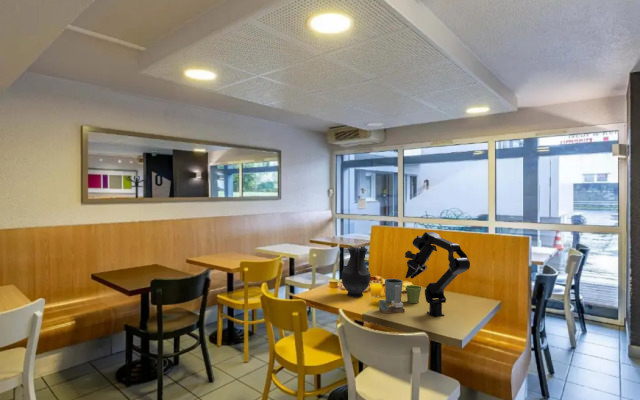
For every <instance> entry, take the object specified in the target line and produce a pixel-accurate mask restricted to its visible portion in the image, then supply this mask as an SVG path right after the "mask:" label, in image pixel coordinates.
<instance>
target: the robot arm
mask: <svg viewBox="0 0 640 400" xmlns="http://www.w3.org/2000/svg"><path fill="white" fill-rule="evenodd" d="M412 245H413V246H414V247H415V248H416V249H417V250H418V251H419V252H416V253H413V252H412V251H411V250H407V251H405V253H404V258H406V259H408V260H407V261H406V266H407V271H406V274H405V276H404V277H405V279H409V278H410V279H411V280H413V279H414V278H416V277H418V276H419V275H421V274H422V273H424V272H425V271H426V270H427V269H428V267H427V264H426V263H427V261H429V259H430V257H431V255H432V254H433V252H434V251H435V252H438V249H437V246H438V248H442V249H443V250H446V251H447V252H448V256H447V257H448V258H447V260H448V262H449V263H448V269H447V270H446V271H445V272H444V273H443V274H442V275H441V276H440V278H439V279H438V280H437V281H436V282H429V283H428V284H427V286H425V290H424V297H425V302H427V304H429V305H428V306H429V308H428V309H429V311H426V314H428V315H430V316H432V317H442V316H445V314H444V313H443V304H446V301H447V298H446V296H445V289H446V288H447V287H448V286H449V285H450V283H451V282H453V280H454V279H456V277H457V276H458V275H460V274H463V273H465V272H467V271H468V270H470V267H471V262H470V260H469V258H468V255H467V253H465V251H464V250H462V248H461V246H460V244H458V243H455V242H452V241H450V240H447V239H445V238H443V237H441V236H440V234H438V233H437V232H434V231H433V232H432V231H431V232H430V231H429V232H423V234H422V235H417V236H416V237H415V238H414V239H413V240H412ZM454 253H455V254H456V255H457V256H458V257H454V256H455V255H454Z"/></svg>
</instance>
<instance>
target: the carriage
mask: <svg viewBox="0 0 640 400" xmlns="http://www.w3.org/2000/svg"><path fill="white" fill-rule="evenodd" d="M400 290H401V286H399V285H395V301H392V303H391V305H392V306H394V307H403V308H404V303H403V302H402V301H401V302H400Z"/></svg>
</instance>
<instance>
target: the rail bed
mask: <svg viewBox="0 0 640 400" xmlns="http://www.w3.org/2000/svg"><path fill="white" fill-rule="evenodd" d="M378 301H379V303H378V310H379V311H380V312H381V313H382V314H393V313H394V314H395V313H405V308H404V306H403V307H394V306H393V305H392V306H391V305H390V306H388V302H386V299H379V300H378Z"/></svg>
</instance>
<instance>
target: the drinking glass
mask: <svg viewBox="0 0 640 400" xmlns="http://www.w3.org/2000/svg"><path fill="white" fill-rule="evenodd" d="M403 283H404V280H401V279H399V278H386V279H384V289H385V301H386V302H387V304H388V303H389V304H392V301H395V285H399V286H401V290H400V302H402V294H403V293H402V292H403Z"/></svg>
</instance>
